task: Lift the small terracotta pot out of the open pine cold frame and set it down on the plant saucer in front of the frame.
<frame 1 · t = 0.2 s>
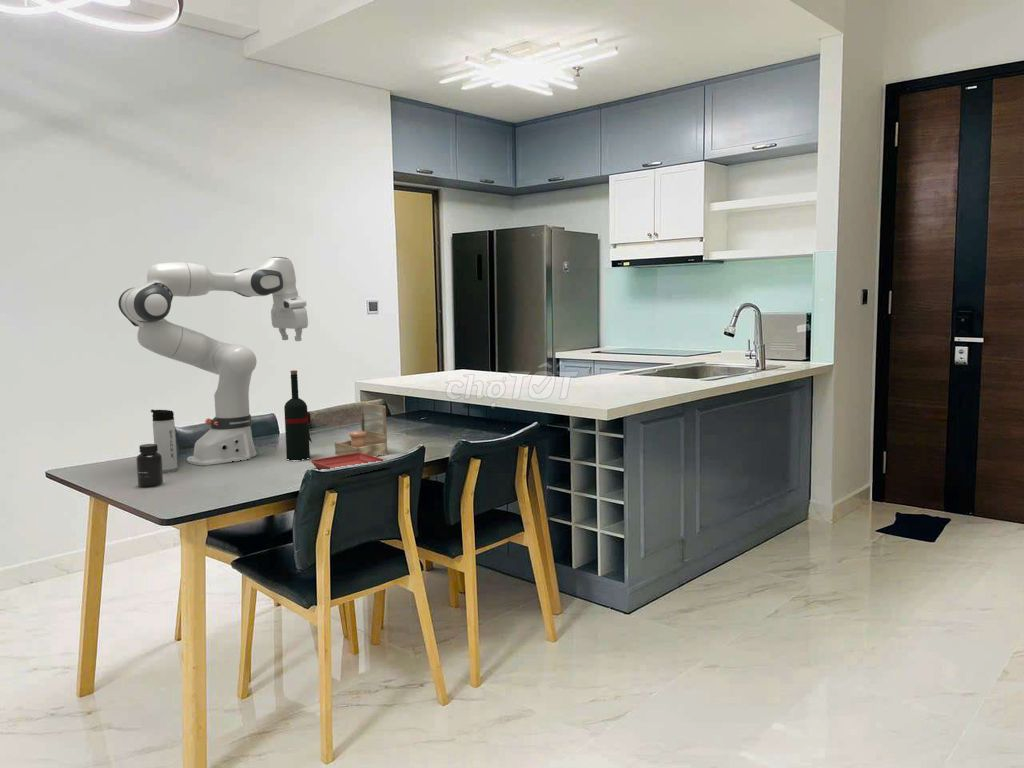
hand: (291, 340, 277), 39 cm above the table, tool pointing down, fingers open, 8 cm apart
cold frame: (361, 454, 265), on the table
terracotta pot: (358, 454, 264), resting in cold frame
supplement bottle: (151, 485, 227), on the table
wine bottle: (300, 458, 261), on the table
plant saucer: (349, 470, 243), on the table
travel mug: (166, 471, 244), on the table
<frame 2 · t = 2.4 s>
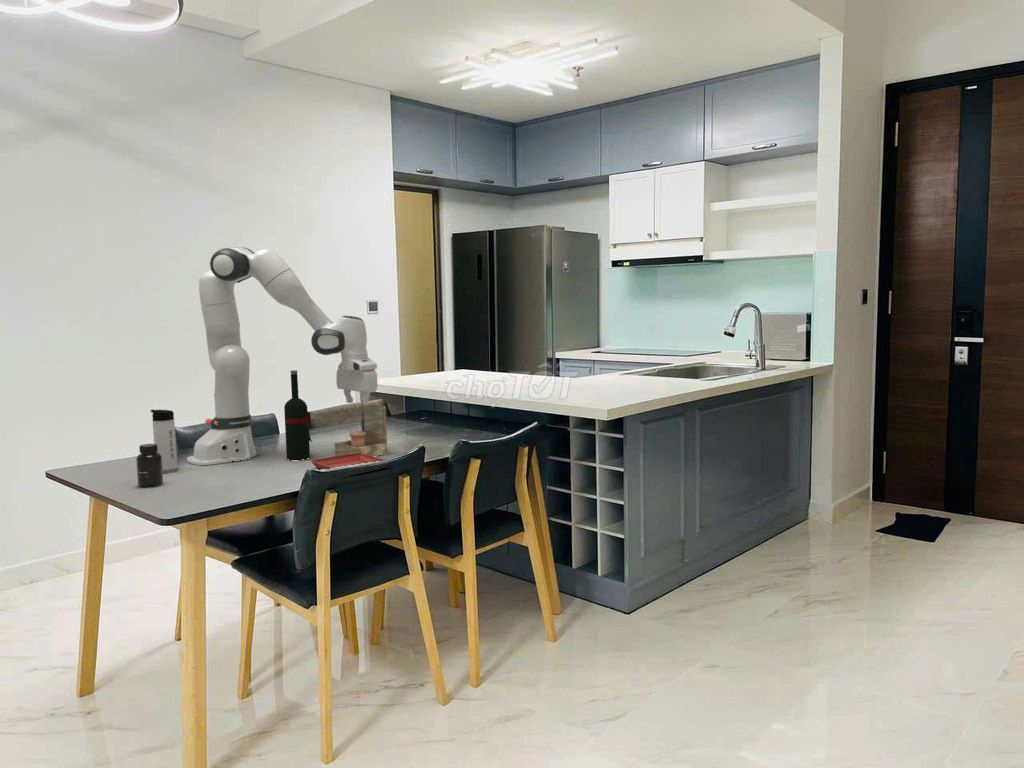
hand: (357, 403, 262), 18 cm above the table, tool pointing down, fingers open, 8 cm apart
nothing on the table moved.
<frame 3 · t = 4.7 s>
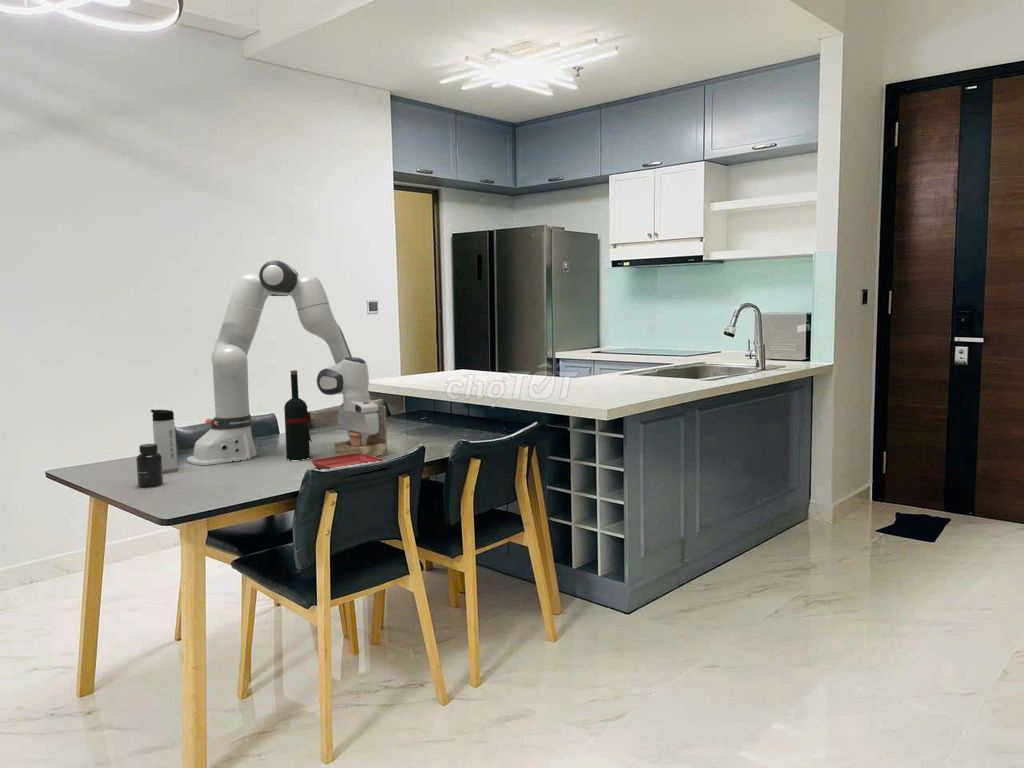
hand: (358, 444, 264), 4 cm above the table, tool pointing down, fingers closed on terracotta pot, 5 cm apart
terracotta pot: (358, 454, 264), resting in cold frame, touching gripper
everything else where it was.
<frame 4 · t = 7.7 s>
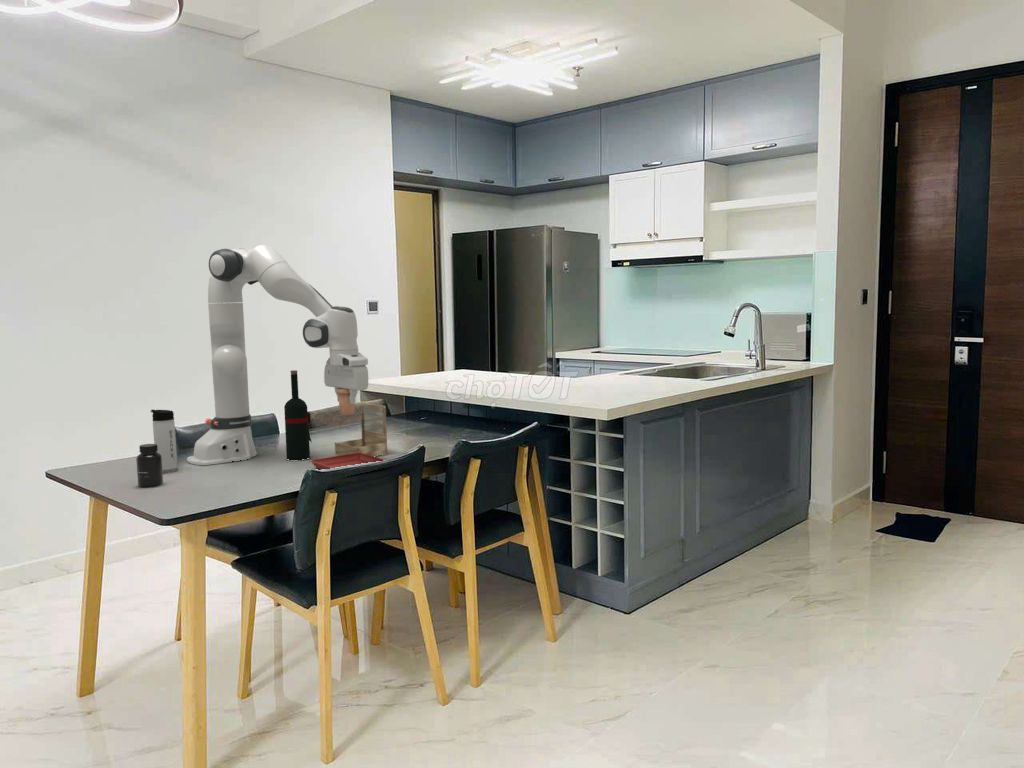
hand: (346, 402, 240), 21 cm above the table, tool pointing down, fingers closed on terracotta pot, 5 cm apart
terracotta pot: (347, 413, 241), point 18 cm above the table, touching gripper
everything else where it was.
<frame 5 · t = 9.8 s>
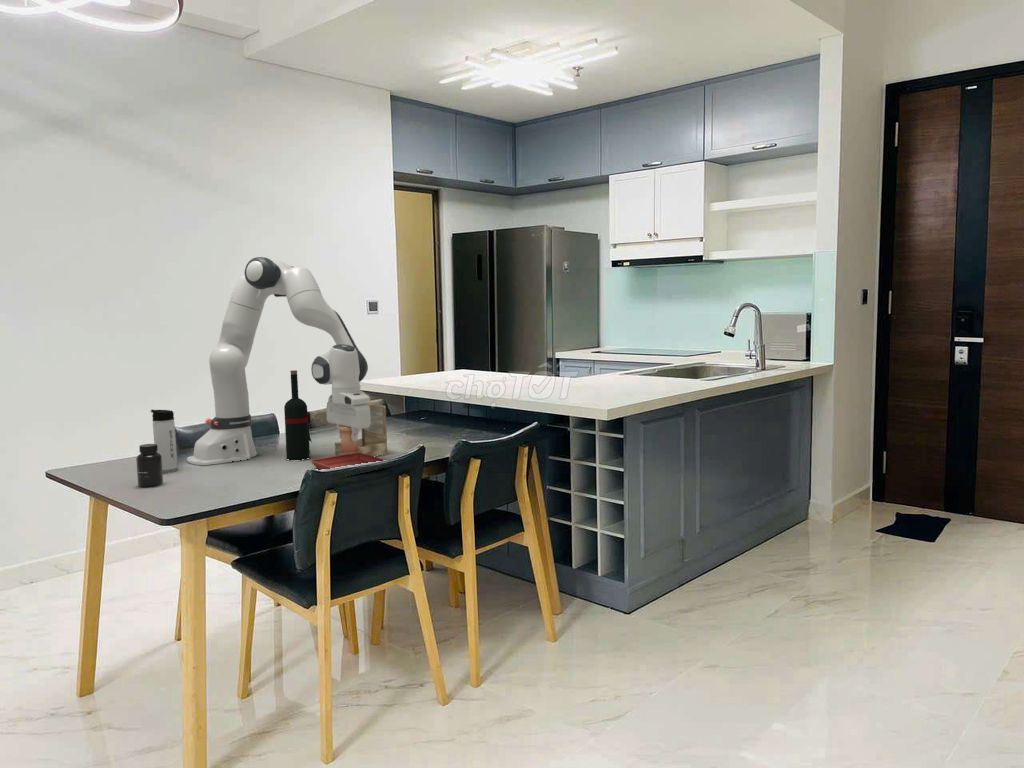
hand: (348, 439, 242), 9 cm above the table, tool pointing down, fingers closed on terracotta pot, 5 cm apart
terracotta pot: (349, 450, 243), point 6 cm above the table, touching gripper
everything else where it was.
when the fingers open (8 cm above the table, at t = 11.1 s): terracotta pot drops 1 cm, resting on plant saucer.
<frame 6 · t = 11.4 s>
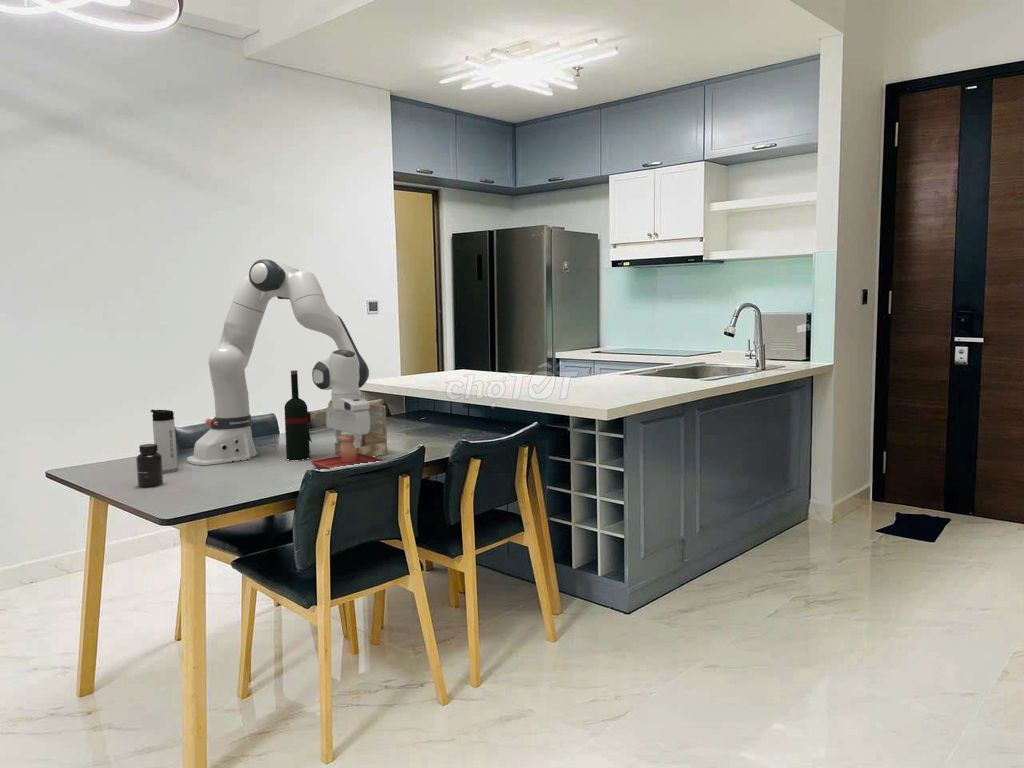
hand: (348, 445, 242), 8 cm above the table, tool pointing down, fingers open, 8 cm apart
terracotta pot: (348, 460, 243), point 3 cm above the table, touching plant saucer
plant saucer: (349, 471, 243), on the table, touching terracotta pot
everything else where it was.
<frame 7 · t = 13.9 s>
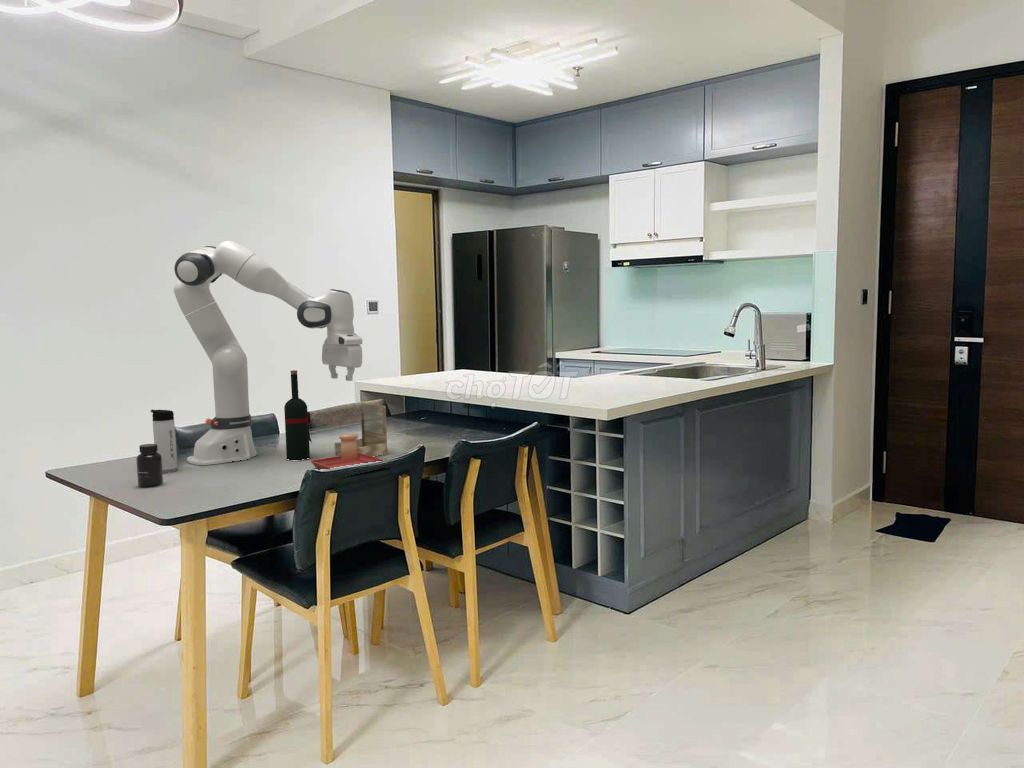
hand: (341, 379, 257), 27 cm above the table, tool pointing down, fingers open, 8 cm apart
nothing on the table moved.
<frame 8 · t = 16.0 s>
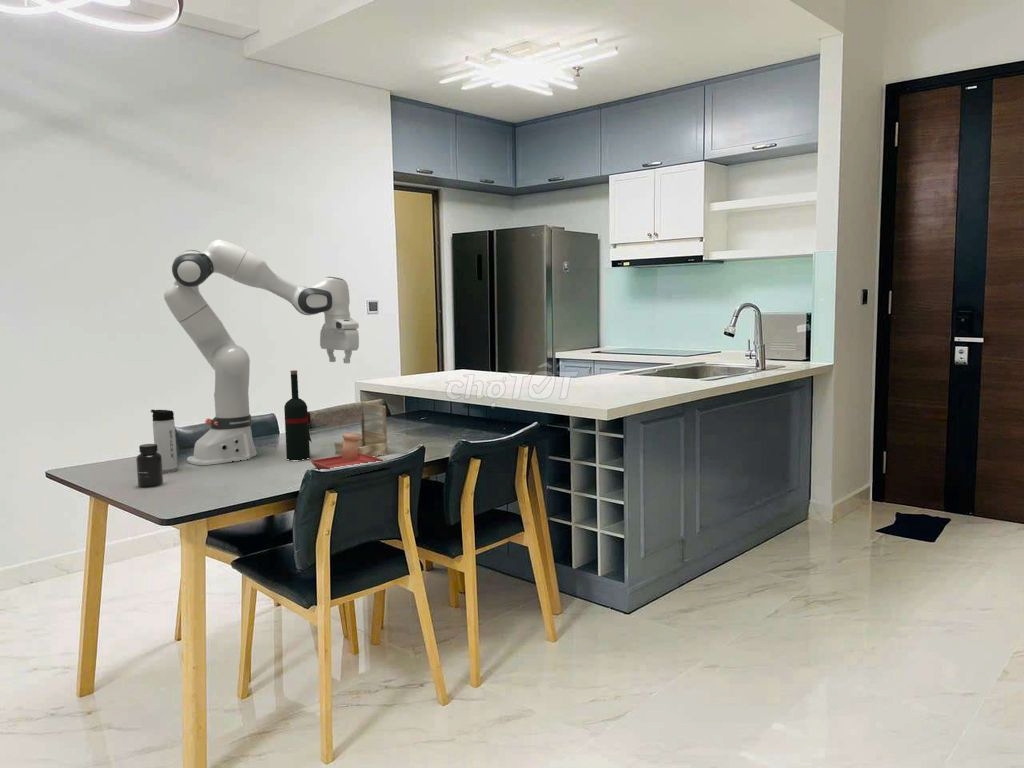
hand: (339, 362, 271), 31 cm above the table, tool pointing down, fingers open, 8 cm apart
terracotta pot: (348, 459, 242), point 3 cm above the table, tilted 10°, touching plant saucer
everything else where it was.
at the end: terracotta pot 0.1 cm from the plant saucer (horizontally); terracotta pot tilted 10°; terracotta pot point 3.2 cm above the table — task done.
